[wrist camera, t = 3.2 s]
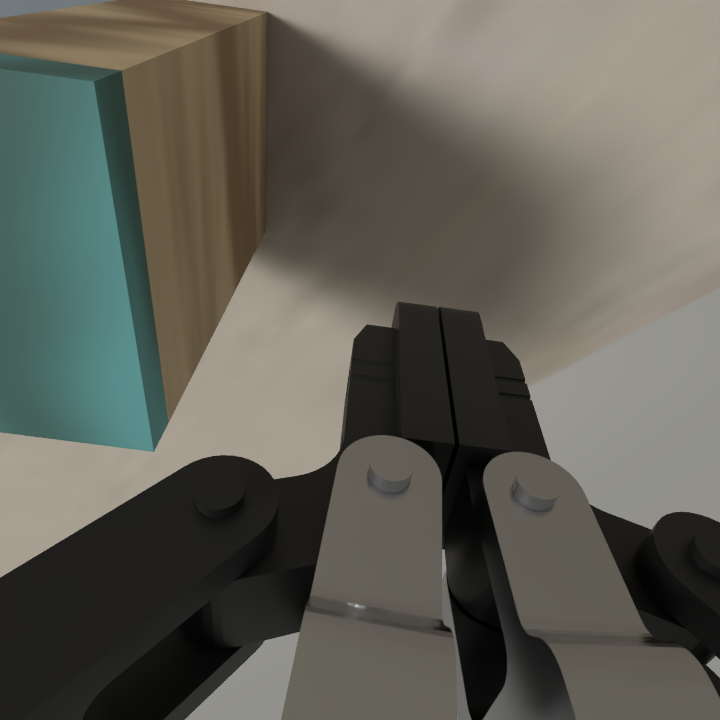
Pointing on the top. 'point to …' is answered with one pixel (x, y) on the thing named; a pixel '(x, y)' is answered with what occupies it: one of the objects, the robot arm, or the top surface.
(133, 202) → the block
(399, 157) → the top surface
